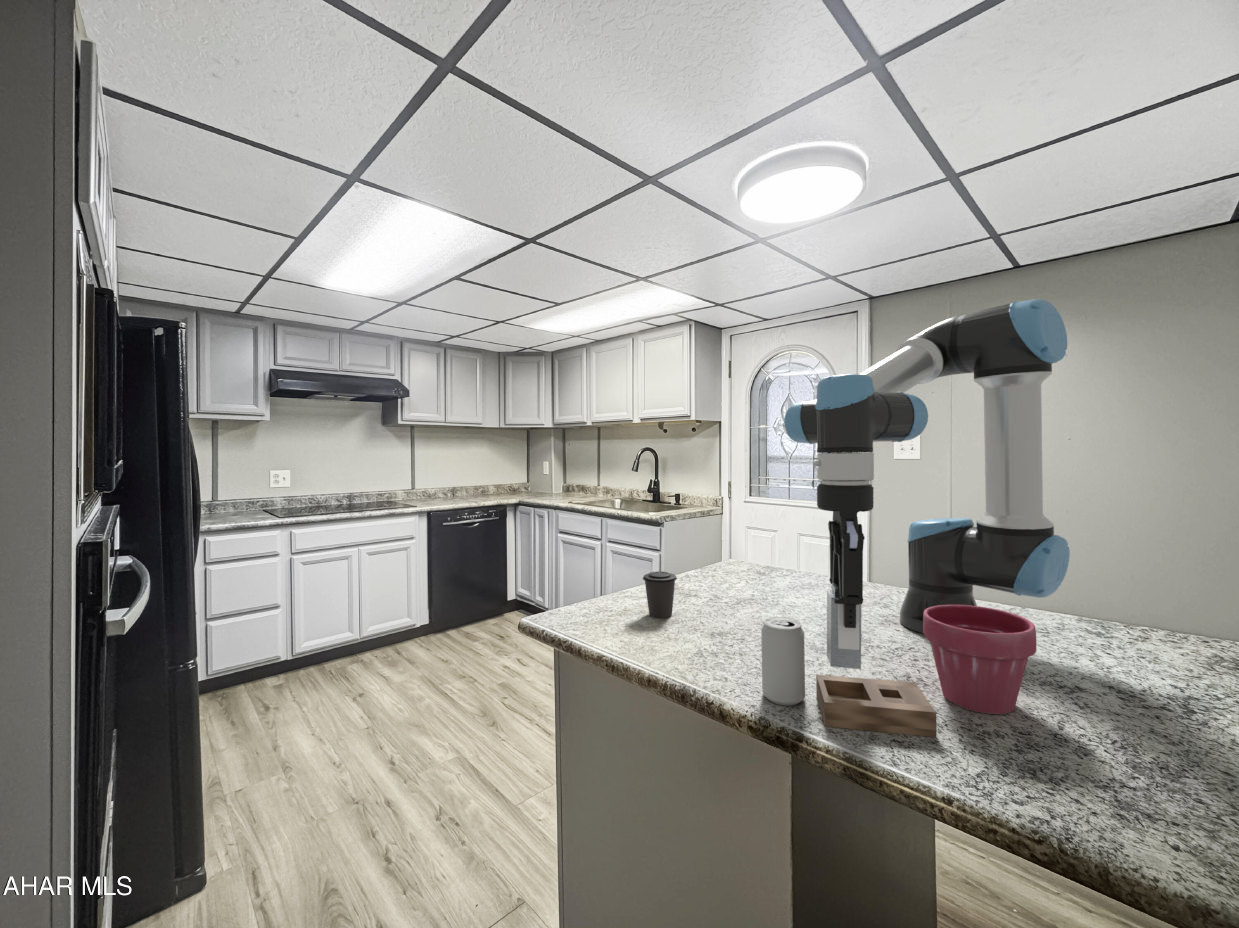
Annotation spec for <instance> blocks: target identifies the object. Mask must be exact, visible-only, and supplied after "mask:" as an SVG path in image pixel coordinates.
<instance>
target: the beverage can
mask: <svg viewBox="0 0 1239 928" xmlns="http://www.w3.org/2000/svg"><path fill="white" fill-rule="evenodd" d="M760 629H761V630H760V631H761V633H760V634H761V679H762V680H761V684H762V685H761V689H762V694H763V695H764V697H766V698H767V699H768V700H769V701H770V702H772V703H774V704H777V705H780V706H788V707H790V706H796V705H798V704H800V703H801V702H802V701H803V700H804V699H805V698H806V674H805V673H806V672H805V671H806V670H805V669H806V668H805V667H806V662H805V661H806V660H805V656H806V655H805V631H804V630H803V627H802V622H800V621H799V620H797V619H795V618H791V617H785V616H773V617H767V618H765V619H764V620H763V625H762V627H761V628H760Z"/></svg>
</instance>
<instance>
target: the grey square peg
mask: <svg viewBox="0 0 1239 928" xmlns="http://www.w3.org/2000/svg"><path fill="white" fill-rule="evenodd" d="M831 586H832V588H831V589H830V590H829V589H826V658H827V660H828V663H829V666H830V667H832V668H842V669H853V670H861V669H862V604H859V650H852V649H839V648H838V604H835V603H834V599H839V584H833V583H832V584H831Z"/></svg>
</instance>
